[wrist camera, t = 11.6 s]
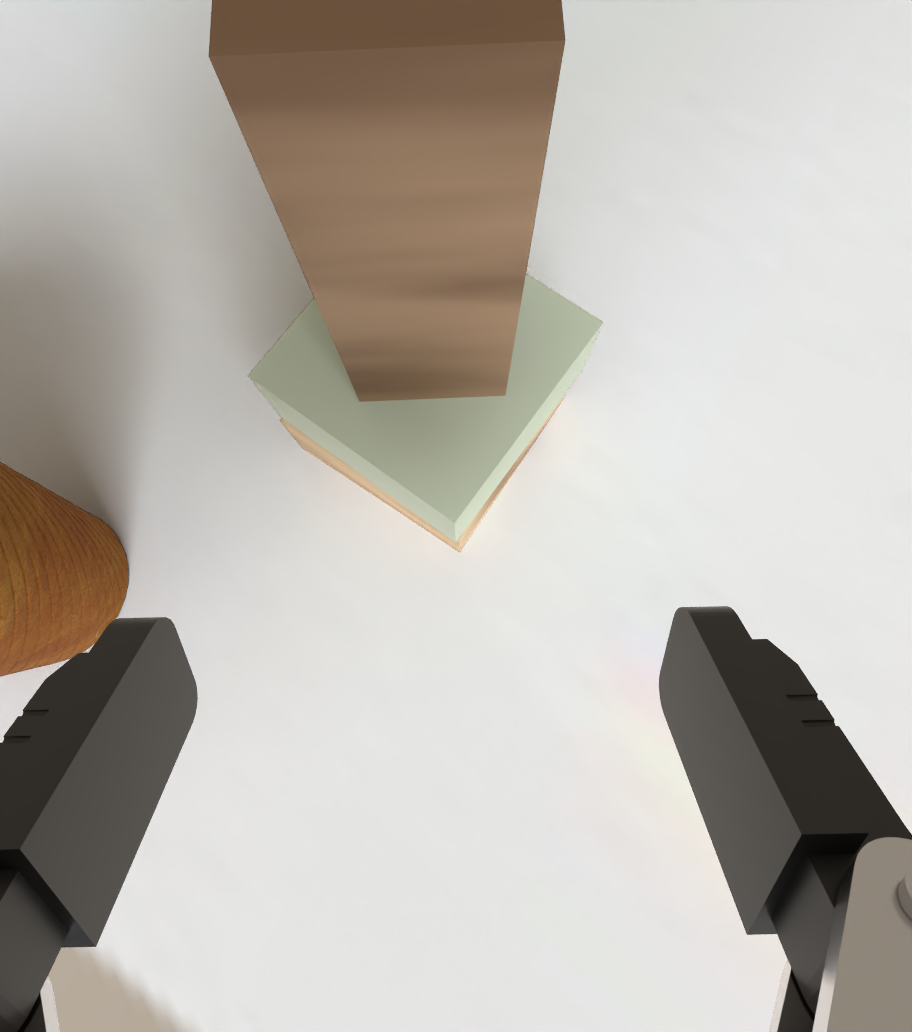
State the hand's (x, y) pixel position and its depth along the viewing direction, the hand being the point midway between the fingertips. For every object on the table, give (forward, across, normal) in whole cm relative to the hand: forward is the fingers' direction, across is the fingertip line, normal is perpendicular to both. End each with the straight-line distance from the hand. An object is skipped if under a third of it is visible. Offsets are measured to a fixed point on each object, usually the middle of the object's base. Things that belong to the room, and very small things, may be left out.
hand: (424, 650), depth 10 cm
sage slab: (+14, 0, +1) cm, 14 cm away
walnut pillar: (+12, 0, -2) cm, 12 cm away
